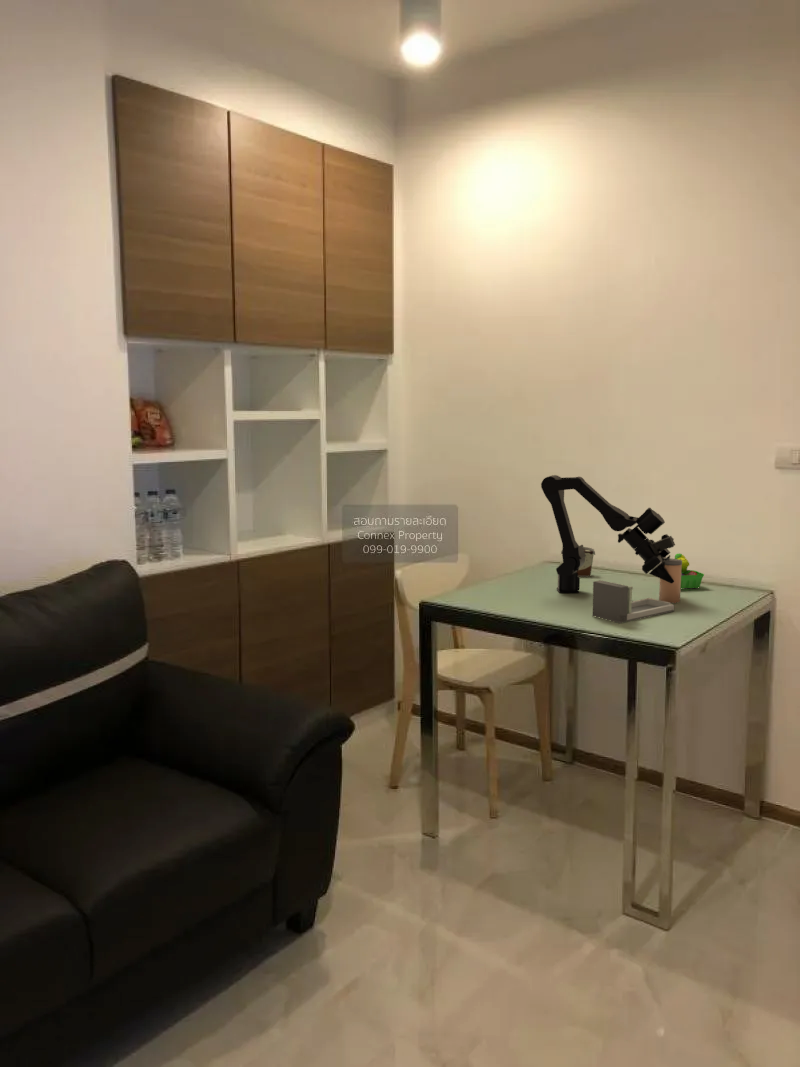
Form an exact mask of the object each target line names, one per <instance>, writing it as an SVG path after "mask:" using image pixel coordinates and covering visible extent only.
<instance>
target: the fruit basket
mask: <svg viewBox="0 0 800 1067" xmlns="http://www.w3.org/2000/svg"><path fill="white" fill-rule="evenodd" d="M674 559H679V560H682V568H681V588H698V587H699V588H700V586H701V584H702V580H703V578H704V576H705V573H702V572H699V571H697V570H691V569H688V567H689V566H690V562H689V560H688V559H687V558H686V557H685V555H684V554H682V553H679V552H678V553H676V554H675V556H674ZM699 588H698V589H699Z"/></svg>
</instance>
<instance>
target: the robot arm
mask: <svg viewBox="0 0 800 1067" xmlns="http://www.w3.org/2000/svg"><path fill="white" fill-rule="evenodd" d="M540 488H541V490H542V492H543V495H544V497H545V498H546V499H547V501H548V502H549V504H550V506H551V508H552V513H553V516H554V520H555V523H556V526H557V530H558V533H559V534H558V535H559V537H560V541H561V545H562V547H561V551H562V554H561V556H562V557H561V558H562V562H561V564H559V565H558V566H557V567H556V568H555V570H556V574H557V587H556V590H557V592H558V593H560V594H566V593H567V594H569V593H572V594H575V593H576V594H577V593H579V592H580V586H581V585H580V584H581V582H580V580H581V579H580V576H578V573H577V571H578V570H579V568H580V567H581V566H582V565H583V564H584V562H585V557H586V554H585V553H584V548H583V547H584V545H583V544H581V545H579V543H578V542H577V541H576V538H575V535H574V531H573V526H572V525H571V520H570V517H569V513H568V511H567V507H566V503H565V491H566V490H568V491H569V490H575V491H576V492H577V493H578V494H579V495H580V496H581V497H582V498H584V500H585V501H587V502H588V503H589V504H590V505H591V506H592V507H594V509H596V511H598V512H599V513H600V514H601V516H602V517H603V519H604V521H605V522H606V524H607V525H608V526H609V528H611V530H612V531H614V532H621V531H624V530H625V529H626V530H625V531H624V532H623V533H618V534H617V543H618V544H619V543H621V542H623V541H625V542H626V543H627V544H628V545H629V546H630V547H631V548H632V550H634V554H635V555H636V556H639V557H640V558H641V559H642V560H643V561H644V562H643V565H641V569H642V572H643V573H644V574H646V575H647V574H648V575H652V576H654V577H656V578H658V579H659V580H660V579H663V580H665V581H667V582H669V583H673V582H674V580H673V578H672V577H671V575H670V574H669V572H668V571H667V569H666V568H665V560H664V561H663V562H661V561H662V559H671V551H670V550H669V549H672V548H674V546H676V544H675V541H674V539H675V538H673V536H672V535H668V533H666V534H662V535H661V538H660V539H659V540H657V541H655V540H653V539H649V537H647V536H646V535H648V534H649V535H653V534H654V533H655V532H656V531H658V529H659V528H661V527H662V526H663V525H664V524H665V520H664V518H663V517H662V516H661V515H660V514H659V513H658V512H657V511H655V510H654V509H652V508H651V507H648V508H647V509H646V510H645V511H644V512H643V513H642V514H641V515H640V516H639V517H637V516H631V515H629V514H628V513H627V512H625V511H624V510H622V509H621V508H619V507H617V506H615V505H613V504H611V503H610V502H609V501H608V500H607V499H606V498H604V496H602V495H601V494H600V493H599V492H598V491H597V490H596V489H594V487H592V486H591V485H590V484H589V482H587V481H586V480H585V479H584V478H583V477H582V476H575V477H571V476H570V477H568V476H567V477H561V476H559V475H557V474H554V475H553V474H552V475H549V476H546V477H544V478H543V479H542V481H541V483H540ZM636 524H637V525H636ZM635 525H636V526H635ZM633 526H634V527H633ZM631 527H633V528H631Z"/></svg>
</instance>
